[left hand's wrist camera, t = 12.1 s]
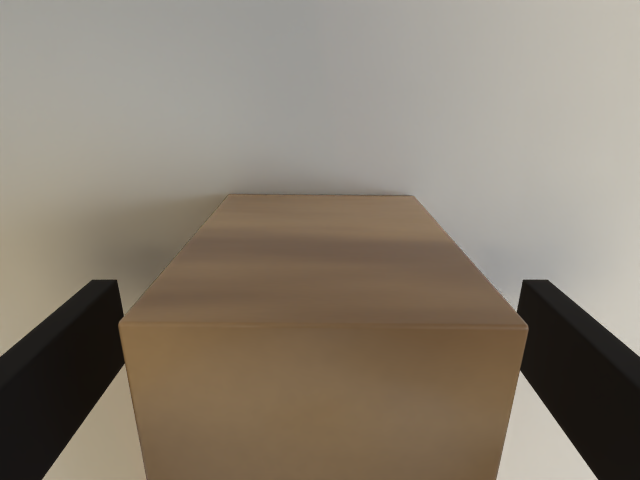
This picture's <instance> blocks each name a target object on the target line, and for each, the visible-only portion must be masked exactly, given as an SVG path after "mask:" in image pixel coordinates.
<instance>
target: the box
mask: <svg viewBox="0 0 640 480" xmlns="http://www.w3.org/2000/svg"><path fill="white" fill-rule="evenodd" d="M118 328H119V333H120V339H121V344H122V349H123V355H124V360H125V365H126V371H127V376H128V381H129V387H130V392H131V397H132V403H133V408H134V414H135V419H136V424H137V430H138V435H139V440H140V446H141V451H142V456H143V462H144V467H145V472H146V478H147V480H496V478H497V473H498V469H499V464H500V460H501V455H502V450H503V446H504V441H505V436H506V432H507V427H508V423H509V418H510V413H511V409H512V404H513V399H514V395H515V390H516V386H517V381H518V376H519V372H520V367H521V362H522V358H523V353H524V349H525V344H526V339H527V335H528V330H529V329H528V325H527V324H526V323H525V321H524V320H523V319H522V318H521V317H520V316H519V315H518V313H517V312H516V311H515V310H514V309H513V308H512V307H511V306H510V304H509V303H508V302H507V301H506V300H505V299H504V298H503V296H502V295H501V294H500V293H499V292H498V291H497V290H496V288H495V287H494V286H493V285H492V284H491V283H490V282H489V281H488V279H487V278H486V277H485V276H484V275H483V274H482V273H481V271H480V270H479V269H478V268H477V267H476V266H475V265H474V264H473V262H472V261H471V260H470V259H469V258H468V257H467V256H466V254H465V253H464V252H463V251H462V250H461V249H460V248H459V247H458V245H457V244H456V243H455V242H454V241H453V240H452V239H451V237H450V236H449V235H448V234H447V233H446V232H445V231H444V230H443V228H442V227H441V226H440V225H439V224H438V223H437V222H436V220H435V219H434V218H433V217H432V216H431V215H430V214H429V213H428V211H427V210H426V209H425V208H424V207H423V206H422V205H421V203H420V202H419V201H418V200H417V199H416V198H415V197H414V196H362V195H251V194H229V195H228V196H227V197H226V198H225V199H224V201H223V202H222V203H221V204H220V205H219V206H218V208H217V209H216V210H215V211H214V212H213V213H212V215H211V216H210V217H209V218H208V219H207V220H206V222H205V223H204V224H203V225H202V226H201V227H200V229H199V230H198V231H197V232H196V233H195V234H194V235H193V237H192V238H191V239H190V240H189V241H188V242H187V244H186V245H185V246H184V247H183V248H182V249H181V251H180V252H179V253H178V254H177V255H176V256H175V258H174V259H173V260H172V261H171V262H170V263H169V265H168V266H167V267H166V268H165V269H164V270H163V272H162V273H161V274H160V275H159V276H158V277H157V278H156V280H155V281H154V282H153V283H152V284H151V285H150V287H149V288H148V289H147V290H146V291H145V292H144V294H143V295H142V296H141V297H140V298H139V299H138V301H137V302H136V303H135V304H134V305H133V306H132V308H131V309H130V310H129V311H128V312H127V313H126V314H125V316H124V317H123V318H122V319H121V320H120V321H119V324H118Z"/></svg>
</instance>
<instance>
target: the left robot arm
mask: <svg viewBox="0 0 640 480" xmlns="http://www.w3.org/2000/svg"><path fill="white" fill-rule="evenodd" d="M517 313H518V315H519V316H520V317H521V318H522V319H523V320H524V321H525V323H526V324H527V325H528V329H529V330H528V335H527V339H526V344H525V349H524V353H523V358H522V362H521V367H520V371H521V372H522V373H523V375H524V376H525V378H526V379H527V380H528V382H529V383H530V385H531V386H532V387H533V389H534V390H535V392H536V393H537V394H538V396H539V397H540V399H541V400H542V401H543V403H544V404H545V406H546V407H547V408H548V410H549V411H550V413H551V414H552V416H553V417H554V418H555V420H556V421H557V423H558V424H559V425H560V427H561V428H562V430H563V431H564V432H565V434H566V435H567V437H568V438H569V439H570V441H571V442H572V444H573V445H574V446H575V448H576V449H577V451H578V452H579V453H580V455H581V456H582V458H583V459H584V460H585V462H586V463H587V465H588V466H589V467H590V469H591V470H592V472H593V473H594V475H595V476H596V477H597V479H598V480H640V357H639V356H638V355H637V354H636V353H634V352H633V351H632V350H631V349H630V348H628V347H627V346H626V345H625V344H624V343H622V342H621V341H620V340H619V339H618V338H616V337H615V336H614V335H613V334H612V333H611V332H609V331H608V330H607V329H606V328H605V327H603V326H602V325H601V324H600V323H599V322H597V321H596V320H595V319H594V318H593V317H591V316H590V315H589V314H588V313H587V312H585V311H584V310H583V309H582V308H581V307H580V306H578V305H577V304H576V303H575V302H574V301H572V300H571V299H570V298H569V297H568V296H566V295H565V294H564V293H563V292H562V291H560V290H559V289H558V288H557V287H556V286H554V285H553V284H552V283H551V282H550V281H548V280H523V283H522V288H521V293H520V299H519V304H518V309H517ZM123 317H124V314H123V309H122V304H121V298H120V293H119V288H118V283H117V280H92V281H90V282H89V283H88V284H87V285H86V286H84V287H83V288H82V289H81V290H80V291H78V292H77V293H76V294H75V295H74V296H72V297H71V298H70V299H69V300H68V301H66V302H65V303H64V304H63V305H62V306H61V307H59V308H58V309H57V310H56V311H55V312H53V313H52V314H51V315H50V316H49V317H47V318H46V319H45V320H44V321H43V322H41V323H40V324H39V325H38V326H37V327H35V328H34V329H33V330H32V331H31V332H29V333H28V334H27V335H26V336H25V337H24V338H22V339H21V340H20V341H19V342H18V343H16V344H15V345H14V346H13V347H12V348H10V349H9V350H8V351H7V352H6V353H4V354H3V355H2V356H1V357H0V480H42V479H43V477H44V476H45V475H46V473H47V472H48V470H49V469H50V467H51V466H52V465H53V463H54V462H55V460H56V459H57V458H58V456H59V455H60V453H61V452H62V451H63V449H64V448H65V446H66V445H67V444H68V442H69V441H70V439H71V438H72V437H73V435H74V434H75V432H76V431H77V430H78V428H79V427H80V425H81V424H82V423H83V421H84V420H85V418H86V417H87V416H88V414H89V413H90V411H91V410H92V409H93V407H94V406H95V404H96V403H97V401H98V400H99V399H100V397H101V396H102V394H103V393H104V392H105V390H106V389H107V387H108V386H109V385H110V383H111V382H112V380H113V379H114V378H115V376H116V375H117V373H118V372H119V371H120V369H121V368H122V366H123V365H124V364H125V360H124V355H123V349H122V344H121V339H120V333H119V328H118V324H119V321H120V320H121V319H122V318H123Z"/></svg>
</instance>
